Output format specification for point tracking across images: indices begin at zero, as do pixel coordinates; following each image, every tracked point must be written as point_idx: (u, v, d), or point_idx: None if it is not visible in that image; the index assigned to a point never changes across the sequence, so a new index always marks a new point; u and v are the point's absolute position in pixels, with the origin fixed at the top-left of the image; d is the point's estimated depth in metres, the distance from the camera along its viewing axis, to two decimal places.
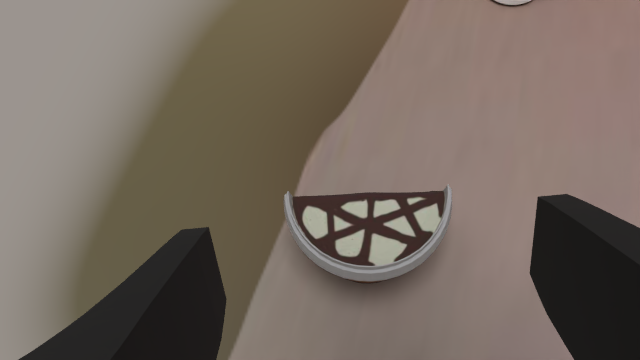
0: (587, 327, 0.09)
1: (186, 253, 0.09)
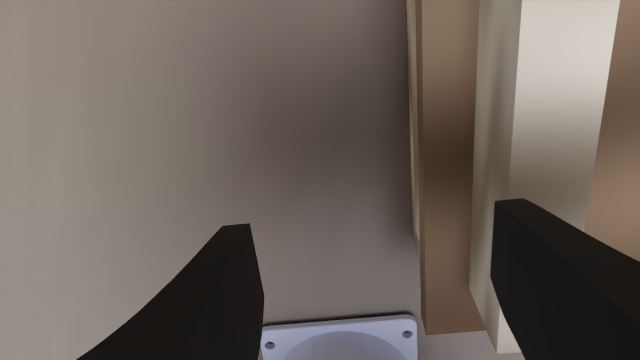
0: (537, 331, 0.09)
1: (233, 249, 0.09)
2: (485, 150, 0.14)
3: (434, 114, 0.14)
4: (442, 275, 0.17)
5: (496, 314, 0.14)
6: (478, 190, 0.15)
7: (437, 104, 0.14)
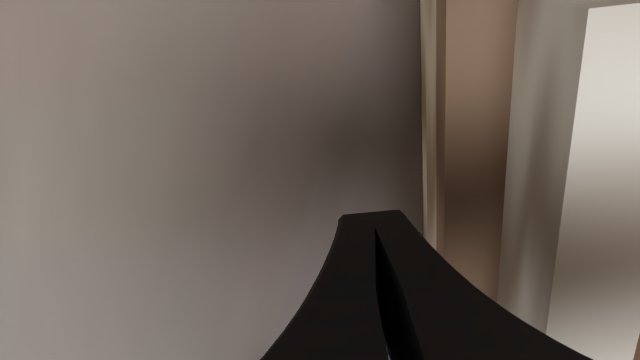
0: (393, 343, 0.09)
1: (373, 236, 0.09)
2: (521, 193, 0.11)
3: (458, 147, 0.12)
4: None
5: None
6: (510, 237, 0.12)
7: (462, 135, 0.12)
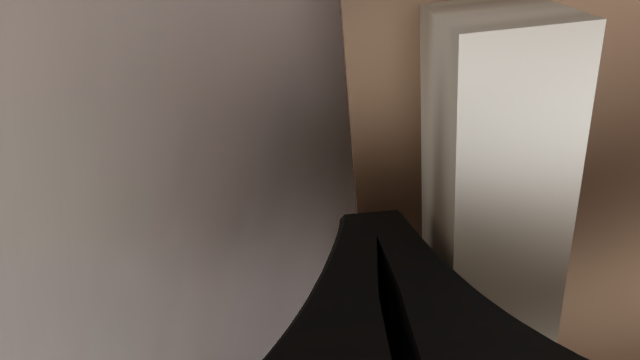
0: (391, 343, 0.09)
1: (375, 236, 0.09)
2: (430, 223, 0.11)
3: (368, 171, 0.11)
4: None
5: None
6: None
7: (371, 159, 0.11)
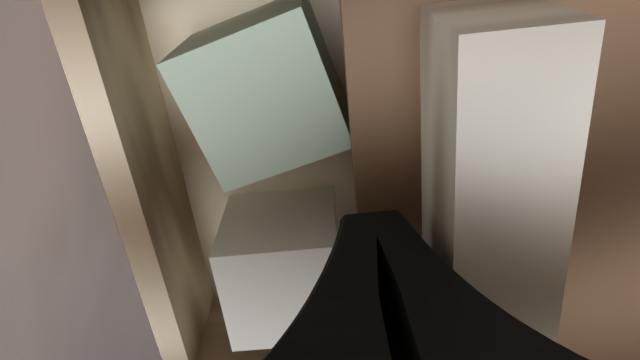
0: (392, 343, 0.09)
1: (375, 236, 0.09)
2: (430, 223, 0.11)
3: (369, 172, 0.11)
4: None
5: None
6: None
7: (371, 160, 0.11)
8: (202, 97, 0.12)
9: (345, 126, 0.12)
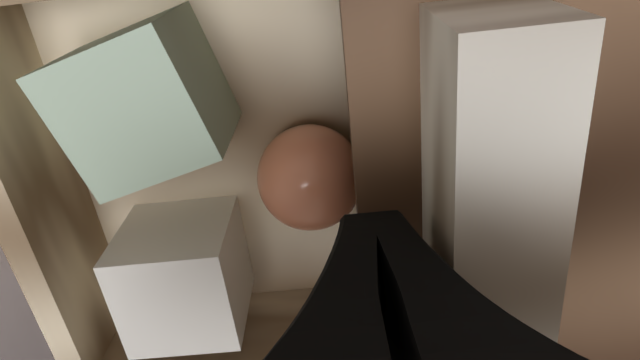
0: (391, 343, 0.09)
1: (375, 236, 0.09)
2: (431, 223, 0.11)
3: (369, 171, 0.11)
4: None
5: None
6: None
7: (372, 159, 0.11)
8: (65, 111, 0.12)
9: (210, 139, 0.12)
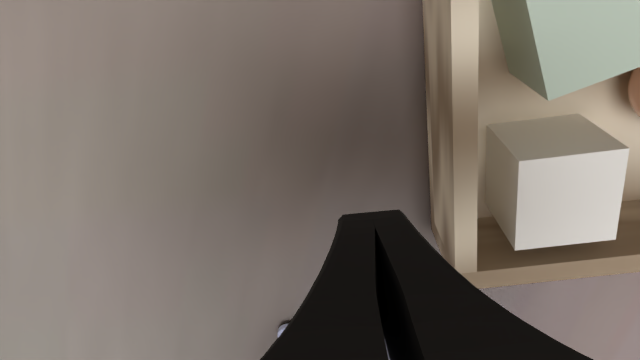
0: (393, 343, 0.09)
1: (373, 236, 0.09)
2: None
3: None
4: None
5: None
6: None
7: None
8: (553, 16, 0.15)
9: None
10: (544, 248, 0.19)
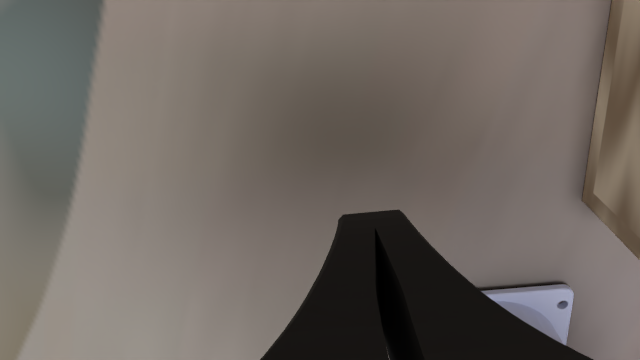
0: (393, 343, 0.09)
1: (373, 236, 0.09)
2: None
3: None
4: None
5: None
6: None
7: None
8: None
9: None
10: None
